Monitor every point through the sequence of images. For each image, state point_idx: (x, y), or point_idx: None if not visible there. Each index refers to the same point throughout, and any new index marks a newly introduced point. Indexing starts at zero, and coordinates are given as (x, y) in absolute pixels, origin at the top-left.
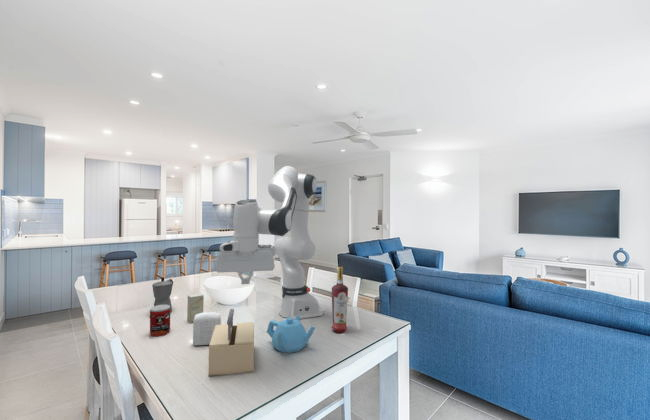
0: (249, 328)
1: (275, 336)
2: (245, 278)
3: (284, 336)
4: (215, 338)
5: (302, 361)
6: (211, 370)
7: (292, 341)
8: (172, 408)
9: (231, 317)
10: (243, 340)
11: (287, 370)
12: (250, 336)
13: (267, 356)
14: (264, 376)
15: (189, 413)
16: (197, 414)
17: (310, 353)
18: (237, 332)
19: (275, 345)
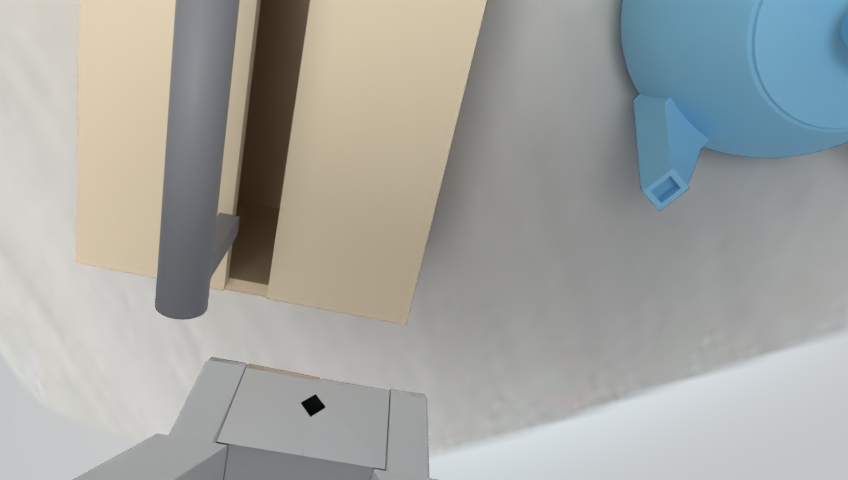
0: (430, 60)
1: (658, 43)
2: (291, 471)
3: (710, 124)
4: (112, 160)
5: (704, 251)
6: None
7: (742, 155)
8: (27, 374)
9: (197, 229)
10: (335, 286)
11: (582, 302)
12: (401, 237)
13: (538, 99)
14: (450, 307)
15: (105, 426)
16: (138, 441)
17: (806, 181)
18: (307, 108)
19: (628, 60)
